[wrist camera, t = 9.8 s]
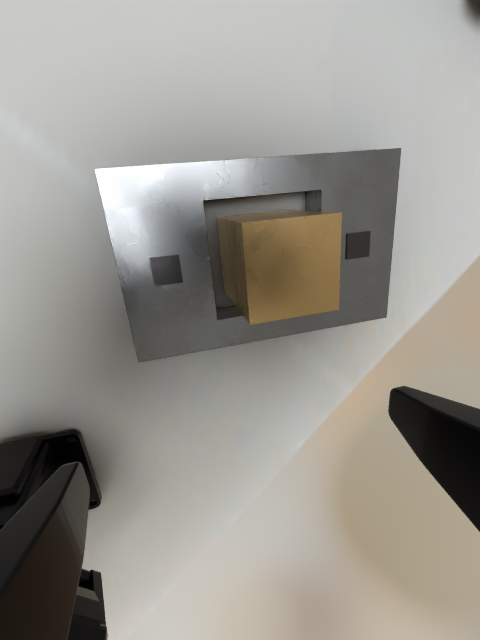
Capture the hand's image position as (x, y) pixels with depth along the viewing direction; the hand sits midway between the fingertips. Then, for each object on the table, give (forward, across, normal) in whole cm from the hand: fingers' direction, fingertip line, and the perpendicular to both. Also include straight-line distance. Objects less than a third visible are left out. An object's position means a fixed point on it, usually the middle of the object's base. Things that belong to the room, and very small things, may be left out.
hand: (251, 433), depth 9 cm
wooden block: (+12, -4, -3) cm, 13 cm away
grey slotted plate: (+12, -4, -3) cm, 13 cm away
